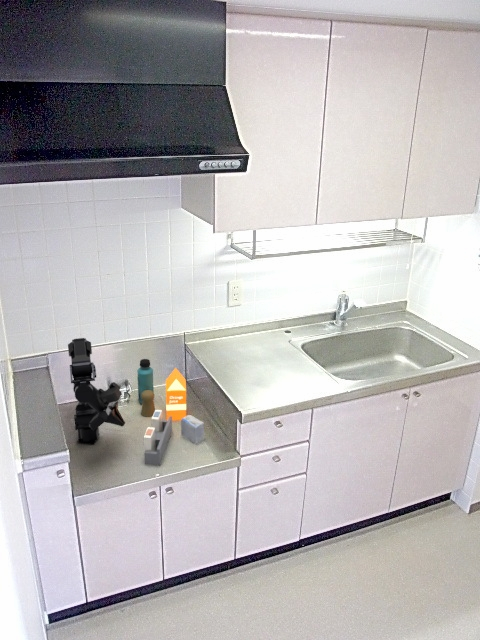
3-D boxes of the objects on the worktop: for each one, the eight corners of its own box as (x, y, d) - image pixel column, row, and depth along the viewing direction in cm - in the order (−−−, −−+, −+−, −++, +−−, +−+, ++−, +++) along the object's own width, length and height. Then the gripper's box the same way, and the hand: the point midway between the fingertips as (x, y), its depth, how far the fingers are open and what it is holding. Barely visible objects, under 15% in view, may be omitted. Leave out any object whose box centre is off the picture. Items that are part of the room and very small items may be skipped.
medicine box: (204, 442, 204) (204, 422, 200) (195, 447, 201) (195, 427, 197) (189, 433, 209) (189, 413, 205) (180, 438, 205) (180, 418, 202)
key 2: (152, 441, 201) (151, 418, 196) (156, 432, 206) (155, 409, 202) (159, 442, 200) (158, 419, 196) (162, 432, 206) (162, 409, 202)
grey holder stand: (139, 466, 190) (138, 447, 187) (153, 432, 208) (152, 414, 205) (160, 468, 189) (159, 449, 186) (172, 434, 208) (171, 416, 204)
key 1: (144, 461, 191) (143, 436, 186) (148, 450, 196) (147, 426, 192) (151, 461, 190) (150, 437, 186) (155, 451, 196) (154, 427, 192)
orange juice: (166, 423, 214) (165, 378, 205) (166, 410, 222) (165, 367, 213) (186, 422, 215) (186, 378, 206) (185, 410, 223) (185, 366, 214)
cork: (149, 409, 222) (148, 386, 217) (159, 415, 218) (158, 391, 214) (137, 416, 217) (136, 392, 213) (147, 422, 214) (146, 397, 210)
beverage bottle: (149, 397, 230) (147, 355, 222) (157, 404, 226) (156, 361, 217) (135, 402, 226) (133, 359, 218) (143, 409, 222) (141, 366, 214)
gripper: (96, 396, 174) (131, 428, 178) (114, 367, 191) (146, 397, 195) (74, 414, 178) (109, 446, 181) (93, 385, 195) (125, 414, 198)
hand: (123, 424), depth 189 cm, fingers closed
